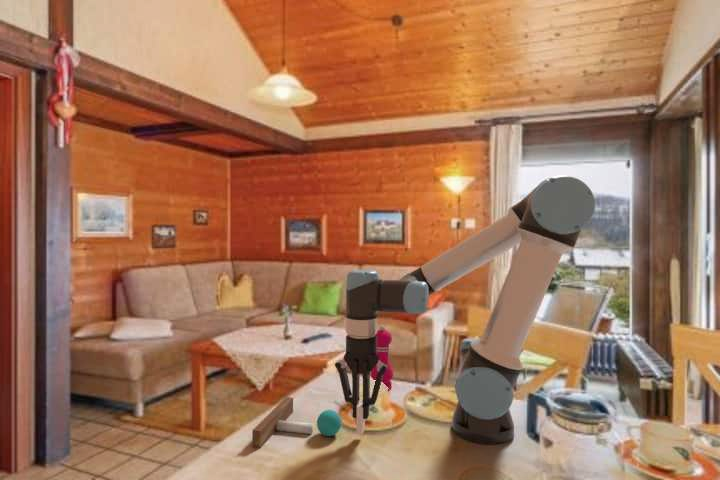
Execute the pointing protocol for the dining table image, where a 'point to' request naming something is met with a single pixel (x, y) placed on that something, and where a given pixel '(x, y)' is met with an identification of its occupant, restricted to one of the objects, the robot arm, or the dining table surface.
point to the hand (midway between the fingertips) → (360, 430)
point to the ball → (329, 422)
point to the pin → (294, 427)
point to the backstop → (271, 422)
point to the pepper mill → (383, 356)
